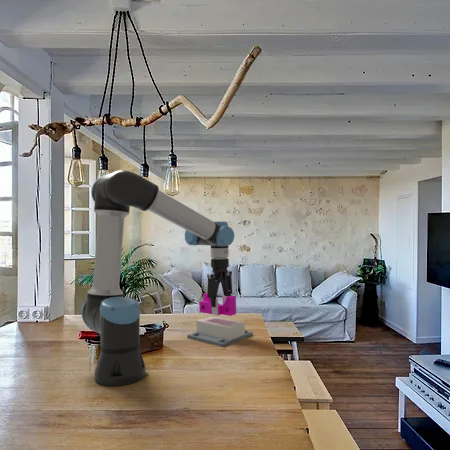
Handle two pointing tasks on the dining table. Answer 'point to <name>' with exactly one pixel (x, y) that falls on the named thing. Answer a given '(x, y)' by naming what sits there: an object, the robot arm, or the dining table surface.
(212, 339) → the baseplate
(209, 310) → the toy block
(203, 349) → the dining table surface
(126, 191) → the robot arm
